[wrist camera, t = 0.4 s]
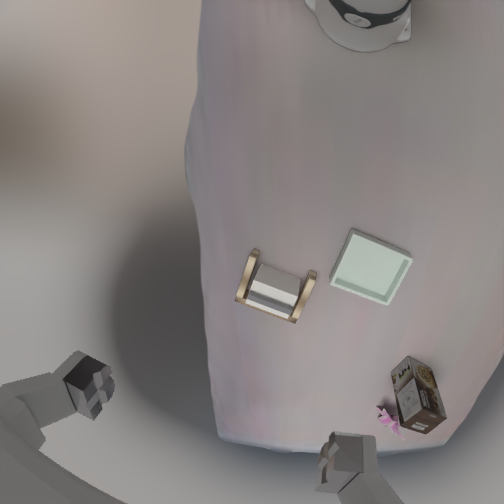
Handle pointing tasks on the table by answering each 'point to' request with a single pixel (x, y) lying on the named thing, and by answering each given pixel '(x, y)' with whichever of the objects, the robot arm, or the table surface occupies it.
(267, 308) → the white block
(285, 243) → the table surface
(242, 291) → the bay
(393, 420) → the lily
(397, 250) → the tray
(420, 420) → the coffee box
